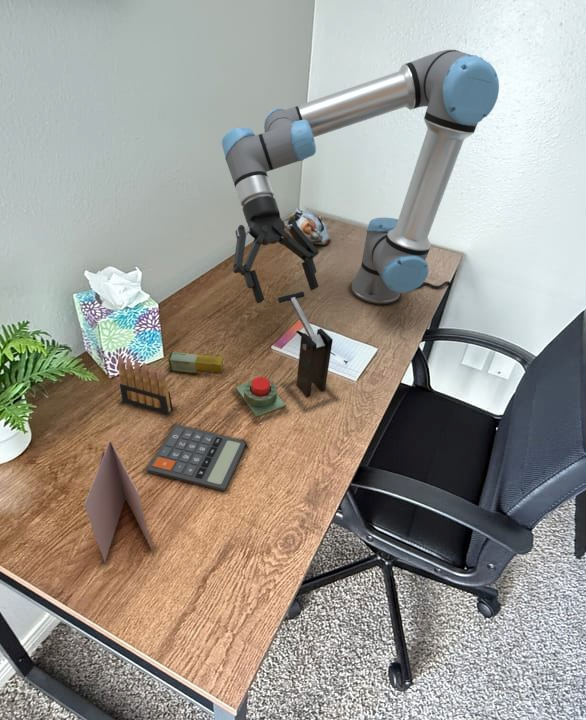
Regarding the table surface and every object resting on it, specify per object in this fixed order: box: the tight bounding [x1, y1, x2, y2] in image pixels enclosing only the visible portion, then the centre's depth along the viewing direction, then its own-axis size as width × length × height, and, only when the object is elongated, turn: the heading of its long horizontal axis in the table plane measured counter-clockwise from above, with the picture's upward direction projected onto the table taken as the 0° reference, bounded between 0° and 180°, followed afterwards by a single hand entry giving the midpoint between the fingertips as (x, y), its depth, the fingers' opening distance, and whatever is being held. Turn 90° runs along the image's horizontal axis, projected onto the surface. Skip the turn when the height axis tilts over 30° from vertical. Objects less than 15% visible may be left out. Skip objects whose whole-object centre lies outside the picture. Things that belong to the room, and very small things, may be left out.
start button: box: [251, 376, 271, 396], centre depth 99 cm, size 4×4×2 cm
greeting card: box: [83, 440, 153, 562], centre depth 71 cm, size 11×7×15 cm, turn 3°
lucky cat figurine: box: [294, 208, 332, 246], centre depth 165 cm, size 15×12×14 cm
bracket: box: [296, 328, 334, 398], centre depth 101 cm, size 9×8×16 cm
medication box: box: [167, 351, 224, 374], centre depth 106 cm, size 12×3×4 cm, turn 87°
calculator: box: [146, 424, 247, 492], centre depth 88 cm, size 12×1×15 cm
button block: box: [235, 379, 287, 418], centre depth 100 cm, size 10×7×4 cm
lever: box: [277, 291, 325, 352], centre depth 99 cm, size 14×6×2 cm, turn 35°
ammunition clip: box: [117, 355, 174, 416], centre depth 94 cm, size 11×2×12 cm, turn 75°
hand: (288, 295), depth 101 cm, fingers open, 13 cm apart
